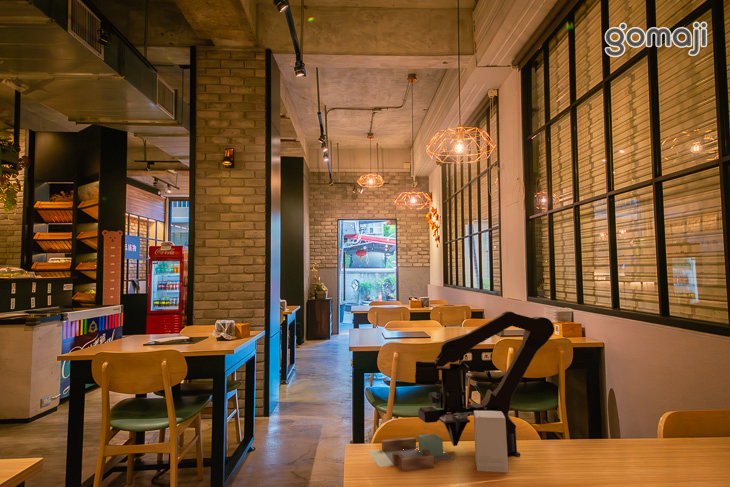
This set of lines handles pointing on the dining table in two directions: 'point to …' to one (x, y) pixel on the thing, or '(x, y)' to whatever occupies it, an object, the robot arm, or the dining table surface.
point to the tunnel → (408, 463)
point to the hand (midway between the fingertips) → (454, 445)
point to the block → (431, 444)
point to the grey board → (386, 457)
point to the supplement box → (490, 441)
